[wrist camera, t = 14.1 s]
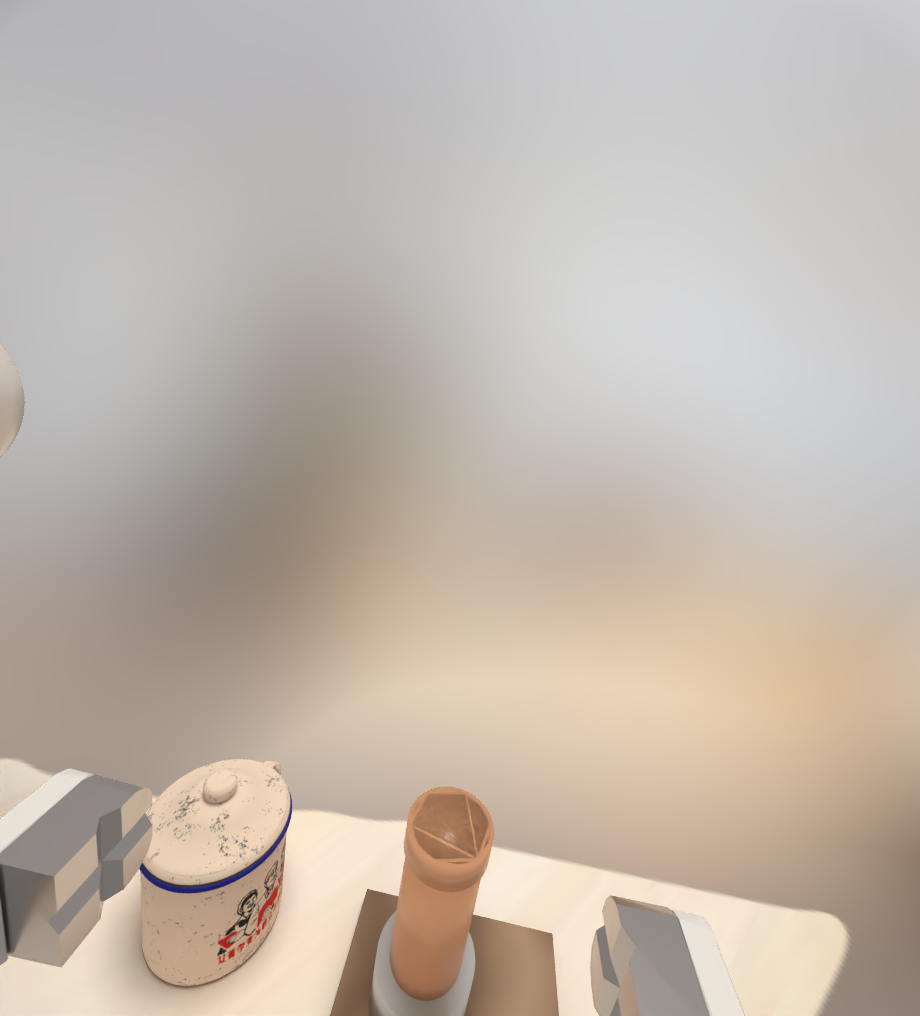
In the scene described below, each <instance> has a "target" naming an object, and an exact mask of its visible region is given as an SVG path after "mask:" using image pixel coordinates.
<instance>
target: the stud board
mask: <svg viewBox="0 0 920 1016" xmlns="http://www.w3.org/2000/svg"><path fill="white" fill-rule="evenodd" d="M398 898H399V897H398V896H394V895H390V894H386V893H382V892H378V891H373V890H369V889H367V892H366V895H365V899H364V902H363V906H362V909H361V912H360V916H359V919H358V923H357V926H356V929H355V933H354V936H353V940H352V943H351V947H350V950H349V953H348V957H347V960H346V964H345V967H344V971H343V974H342V977H341V981H340V984H339V988H338V991H337V995H336V998H335V1001H334V1005H333V1008H332V1012H331V1015H330V1016H559V1012H558V1000H557V987H556V974H555V962H554V949H553V937H552V934H551V933H547V932H543V931H539V930H535V929H531V928H526V927H522V926H518V925H514V924H510V923H506V922H502V921H498V920H493V919H489V918H485V917H481V916H477V915H472V920H471V924H470V929H469V933H468V938H467V942H466V947H465V951H464V956H463V960H462V965H461V969H460V973H459V976H458V978H457V981H456V982H455V984H454V986H453V987H452V988H451V989H450V991H449V992H448V993H446V994H445V995H444V996H442V997H440V998H438V999H436V1000H432V1001H421V1000H417V999H414V998H412V997H410V996H409V995H407V994H406V993H405V992H404V991H403V990H402V989H401V988H400V987H399V985H398V984H397V982H396V980H395V979H394V976H393V974H392V970H391V966H390V946H391V940H392V934H393V928H394V922H395V916H396V910H397V904H398Z"/></svg>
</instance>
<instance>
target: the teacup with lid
mask: <svg viewBox="0 0 920 1016" xmlns="http://www.w3.org/2000/svg"><path fill="white" fill-rule="evenodd" d="M291 814H292V799H291V795H290V792H289V789H288V787H287V785H286V782H285V781H284V779H283V778H282V777H281V767H280V765H279V763H278V762H275V761H265V762H264V763H260V762H257V761H253V760H245V759H232V760H224V761H219V762H215V763H211V764H208V765H205V766H203V767H200V768H198V769H196V770H194V771H192V772H190V773H188V774H186V775H185V776H183V777H181V778H180V779H179V780H177V781H176V782H174V783H173V784H172V785H171V786H169V787H168V788H167V789H166V790H165V791H164V792H163V793H162V794H161V795H160V796H159V797H158V798H157V800H156V801H155V802H154V803H153V805H152V806H151V807H150V809H149V810H148V812H147V814H146V816H147V817H148V819H149V820H150V822H151V823H152V825H153V830H152V839H151V843H150V847H149V851H148V852H147V854H146V856H145V858H144V860H143V862H142V864H141V866H140V868H139V869H140V871H141V913H142V947H143V953H144V957H145V960H146V962H147V964H148V966H149V968H150V969H151V970H152V971H153V973H154V974H155V975H157V976H158V977H159V978H161V979H162V980H164V981H166V982H168V983H171V984H175V985H182V986H193V985H200V984H204V983H207V982H210V981H213V980H216V979H218V978H220V977H222V976H224V975H226V974H228V973H230V972H231V971H233V970H234V969H236V968H237V967H238V966H240V965H241V964H242V963H243V962H245V961H246V960H247V959H248V958H249V957H250V956H251V955H252V954H253V953H254V952H255V951H256V950H257V948H258V947H259V946H260V945H261V943H262V942H263V941H264V939H265V938H266V936H267V935H268V933H269V931H270V930H271V928H272V926H273V924H274V921H275V919H276V916H277V914H278V910H279V906H280V901H281V893H282V881H283V868H284V856H285V844H286V831H287V828H288V826H289V823H290V819H291Z"/></svg>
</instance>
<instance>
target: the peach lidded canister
mask: <svg viewBox="0 0 920 1016" xmlns="http://www.w3.org/2000/svg"><path fill="white" fill-rule="evenodd" d="M493 837H494V827H493V822H492V819H491V816H490V814H489V812H488V810H487V809H486V807H485V806H484V805H483V804H482V802H480V800H478V799H477V798H476V797H475V796H473V795H472V794H470V793H468V792H466V791H464V790H461V789H458V788H453V787H438V788H434V789H431V790H429V791H427V792H425V793H423V794H422V795H421V796H419V797H418V798H417V800H416V801H415V802H414V804H413V805H412V807H411V809H410V812H409V816H408V822H407V828H406V834H405V840H404V852H405V862H404V868H403V874H402V880H401V886H400V892H399V898H398V904H397V910H396V916H395V922H394V928H393V934H392V940H391V946H390V966H391V970H392V974H393V976H394V979H395V980H396V982H397V984H398V985H399V987H400V988H401V989H402V990H403V991H404V992H405V993H406V994H407V995H409V996H410V997H412V998H414V999H417V1000H421V1001H432V1000H436V999H438V998H440V997H442V996H444V995H445V994H446V993H448V992H449V991H450V989H451V988H452V987H453V986H454V984H455V982H456V981H457V978H458V976H459V973H460V969H461V965H462V960H463V956H464V951H465V947H466V942H467V938H468V933H469V929H470V924H471V920H472V915H473V911H474V906H475V902H476V897H477V893H478V888H479V884H480V880H481V877H482V876H483V874H484V872H485V870H486V868H487V865H488V861H489V856H490V852H491V847H492V842H493Z"/></svg>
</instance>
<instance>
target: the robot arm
mask: <svg viewBox="0 0 920 1016" xmlns="http://www.w3.org/2000/svg"><path fill="white" fill-rule="evenodd" d="M24 404H25V402H24V391H23V387H22V383H21V379H20V376H19V374H18V371H17V369H16V367H15V364H14V363H13V361H12V359H11V358H10V356H9V354H8V353H7V351H6V350H5V349H4V347H3V346H2V344H1V343H0V457H1V456H3V454H4V453H5V452H6V450H8V448H9V447H10V446H11V444H12V443H13V441H14V440H15V438H16V436H17V434H18V431H19V429H20V427H21V423H22V419H23V416H24ZM151 806H152V793H151V790H150V789H147V788H143V787H139V786H135V785H132V784H128V783H124V782H120V781H117V780H113V779H109V778H105V777H102V776H98V775H94V774H90V773H86V772H82V771H78V770H73V769H69V768H68V769H66V770H64V771H62V772H59V773H57V774H55V775H54V776H53V777H51V778H50V779H49V780H48V781H46V782H45V783H44V784H43V785H42V786H40V787H39V788H38V789H37V790H35V791H34V792H33V793H32V794H30V795H29V796H28V797H27V798H26V799H24V800H23V801H22V802H21V803H19V804H18V805H17V806H16V807H14V808H13V809H12V810H11V811H10V812H8V813H7V814H6V815H5V816H3V817H2V818H1V819H0V965H1V964H2V963H4V962H5V961H7V959H8V956H12V957H17V958H21V959H26V960H30V961H35V962H39V963H44V964H48V965H53V966H57V967H62V966H63V965H64V964H65V962H66V961H67V960H68V959H69V957H70V956H71V955H72V954H73V952H74V951H75V950H76V949H77V947H78V946H79V945H80V944H81V942H82V941H83V940H84V939H85V937H86V936H87V935H88V934H89V932H90V931H91V930H92V929H93V927H94V926H95V925H96V924H97V922H98V921H99V920H100V918H101V912H102V907H103V901H105V900H107V899H108V898H110V897H112V896H113V895H115V894H117V893H118V892H120V891H121V890H123V889H124V888H125V887H126V886H127V884H128V883H129V882H130V880H131V879H132V878H133V876H134V875H135V874H136V873H137V871H138V870H139V868H140V866H141V864H142V862H143V860H144V858H145V856H146V854H147V852H148V851H149V847H150V843H151V839H152V830H153V825H152V823H151V822H150V820H149V819H148V817H147V816H146V814H145V812H146V811H147V810H148V809H149V808H150V807H151ZM602 912H603V918H604V924H605V925H604V926H603V927H601V928H599V929H598V930H596V933H595V936H594V940H593V944H592V951H591V966H590V969H591V986H592V994H593V1002H594V1007H595V1009H596V1011H597V1013H598V1014H599V1016H745V1014H744V1012H743V1009H742V1007H741V1004H740V1002H739V999H738V996H737V994H736V991H735V989H734V986H733V984H732V981H731V978H730V976H729V973H728V971H727V968H726V966H725V963H724V960H723V958H722V955H721V953H720V950H719V948H718V945H717V942H716V940H715V937H714V935H713V932H712V930H711V927H710V925H709V924H708V922H707V921H706V920H705V918H704V917H701V916H698V915H694V914H689V913H685V912H680V911H676V910H670V909H669V908H667V907H662V906H658V905H653V904H648V903H644V902H639V901H634V900H630V899H625V898H620V897H616V896H611V895H610V896H609V897H608V898H607V899H606V901H605V904H604V907H603V910H602ZM7 955H8V956H7Z"/></svg>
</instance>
